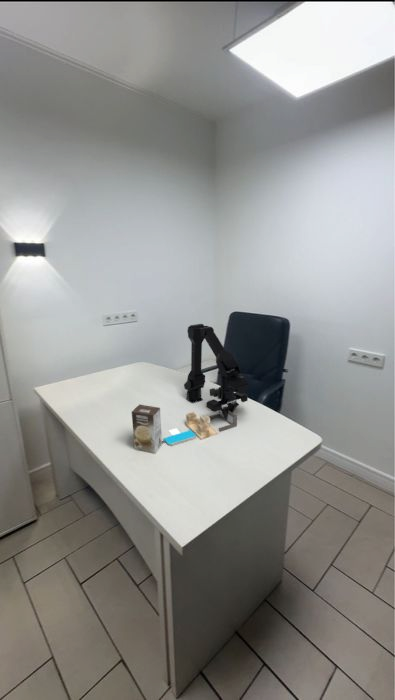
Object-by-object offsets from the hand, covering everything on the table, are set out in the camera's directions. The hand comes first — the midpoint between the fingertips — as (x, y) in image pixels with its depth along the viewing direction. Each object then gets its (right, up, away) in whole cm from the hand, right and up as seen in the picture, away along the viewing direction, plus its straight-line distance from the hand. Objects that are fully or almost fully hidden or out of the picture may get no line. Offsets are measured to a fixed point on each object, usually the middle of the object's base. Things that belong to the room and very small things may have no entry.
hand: (227, 418), depth 136 cm
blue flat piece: (-21, -5, -10) cm, 24 cm away
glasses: (-3, -2, -1) cm, 4 cm away
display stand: (-12, -3, -6) cm, 14 cm away
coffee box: (-32, -7, -17) cm, 37 cm away
